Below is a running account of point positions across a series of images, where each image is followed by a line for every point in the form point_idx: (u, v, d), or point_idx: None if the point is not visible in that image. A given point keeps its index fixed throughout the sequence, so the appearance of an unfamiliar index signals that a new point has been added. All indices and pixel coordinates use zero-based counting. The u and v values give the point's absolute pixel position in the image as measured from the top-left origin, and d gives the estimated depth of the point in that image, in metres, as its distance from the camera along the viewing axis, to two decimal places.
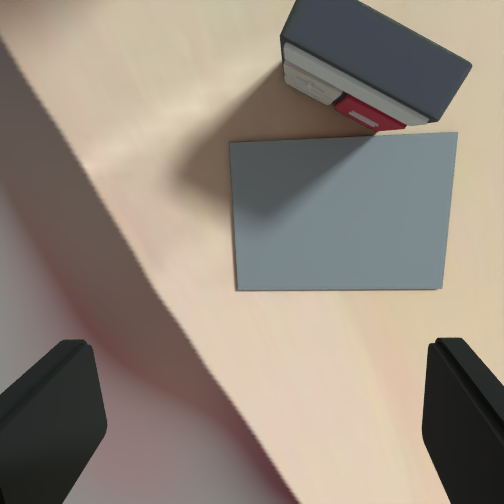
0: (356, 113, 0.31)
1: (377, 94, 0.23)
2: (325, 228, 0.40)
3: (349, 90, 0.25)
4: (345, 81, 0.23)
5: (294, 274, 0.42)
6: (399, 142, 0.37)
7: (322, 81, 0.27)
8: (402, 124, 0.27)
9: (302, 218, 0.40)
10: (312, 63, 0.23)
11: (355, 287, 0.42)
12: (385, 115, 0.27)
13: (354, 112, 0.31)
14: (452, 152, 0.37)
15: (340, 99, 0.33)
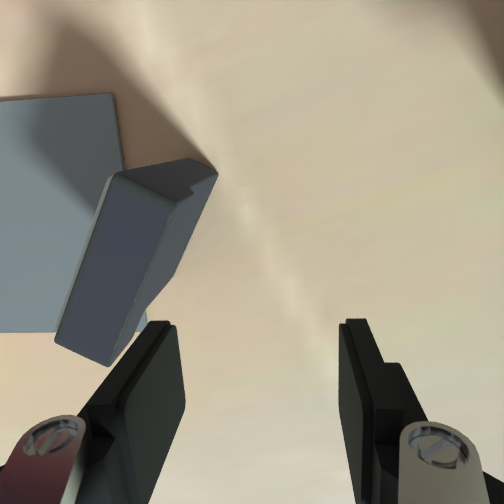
0: None
1: (73, 282, 0.21)
2: (33, 212, 0.35)
3: None
4: None
5: None
6: None
7: None
8: None
9: (39, 185, 0.34)
10: (96, 210, 0.20)
11: None
12: None
13: None
14: None
15: None
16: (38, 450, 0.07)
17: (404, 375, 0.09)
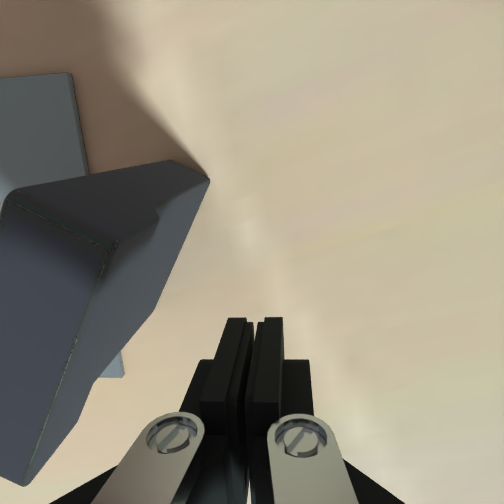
0: None
1: None
2: None
3: None
4: None
5: None
6: None
7: None
8: None
9: None
10: None
11: None
12: None
13: None
14: None
15: None
16: (162, 448, 0.07)
17: (309, 372, 0.10)
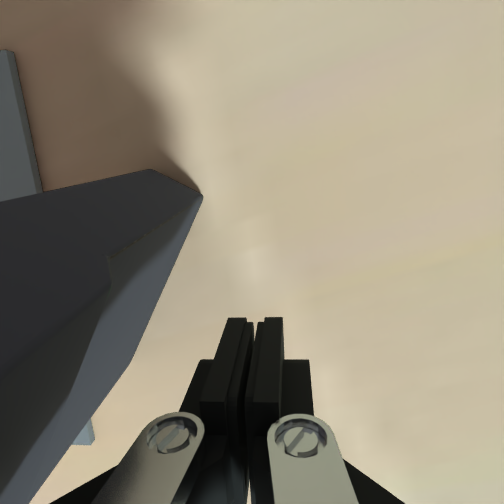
0: None
1: None
2: None
3: None
4: None
5: None
6: None
7: None
8: None
9: None
10: None
11: None
12: None
13: None
14: None
15: None
16: (162, 448, 0.07)
17: None
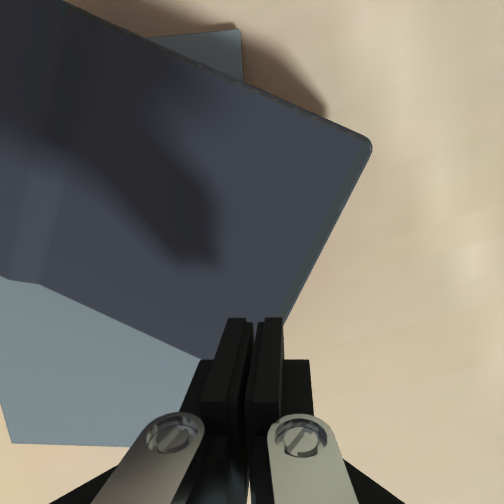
0: None
1: None
2: None
3: None
4: None
5: None
6: None
7: None
8: None
9: None
10: None
11: None
12: None
13: None
14: None
15: None
16: (162, 447, 0.07)
17: (309, 372, 0.10)
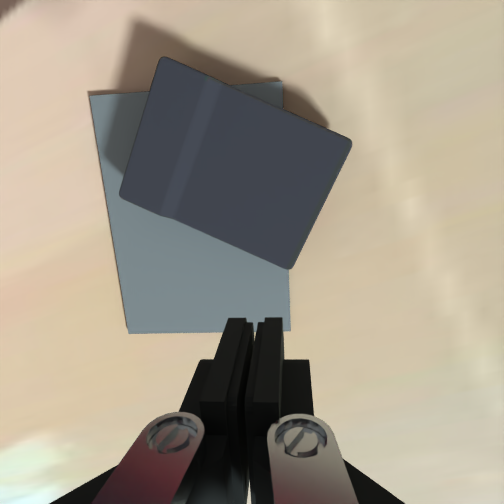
0: None
1: None
2: None
3: None
4: None
5: (122, 172, 0.33)
6: (280, 278, 0.35)
7: None
8: None
9: None
10: None
11: (116, 245, 0.35)
12: None
13: None
14: None
15: None
16: (162, 447, 0.07)
17: (309, 372, 0.10)
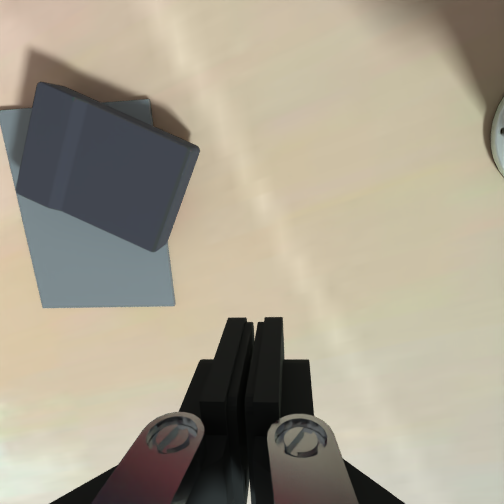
0: None
1: None
2: None
3: None
4: None
5: None
6: (162, 261, 0.42)
7: None
8: None
9: None
10: None
11: (27, 233, 0.43)
12: None
13: None
14: (157, 303, 0.43)
15: None
16: (162, 447, 0.07)
17: (309, 372, 0.10)
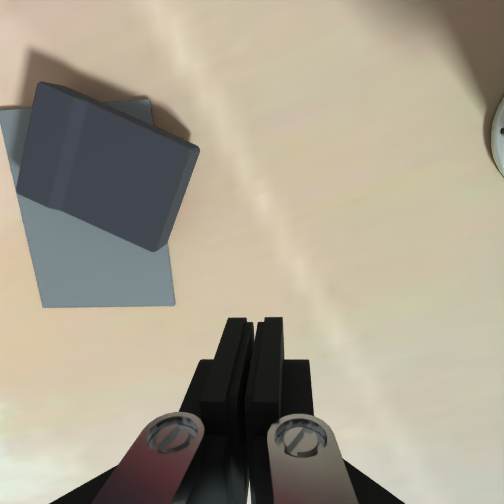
0: None
1: None
2: None
3: None
4: None
5: None
6: (162, 261, 0.42)
7: None
8: None
9: None
10: None
11: (27, 233, 0.43)
12: None
13: None
14: (157, 303, 0.43)
15: None
16: (162, 447, 0.07)
17: (309, 372, 0.10)
